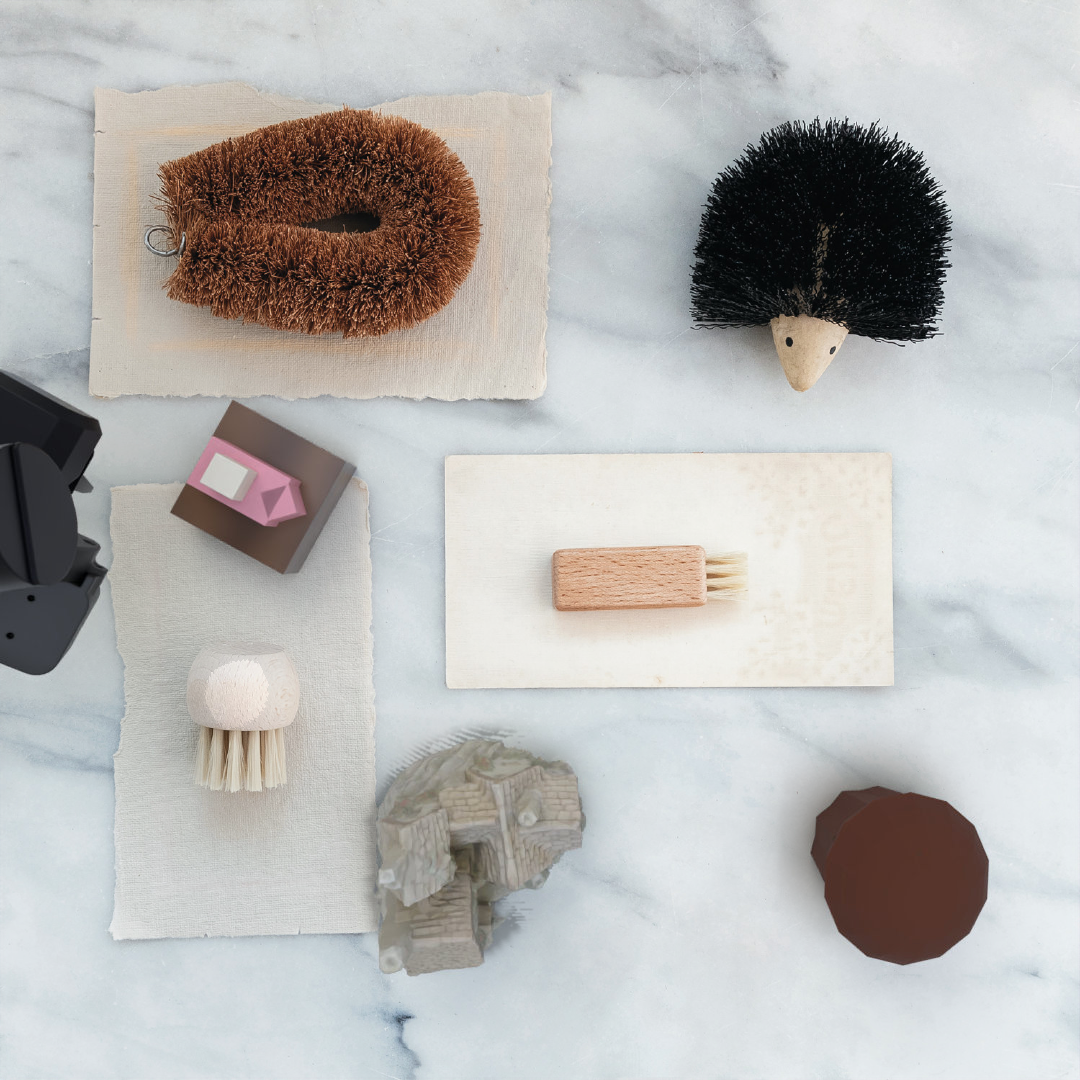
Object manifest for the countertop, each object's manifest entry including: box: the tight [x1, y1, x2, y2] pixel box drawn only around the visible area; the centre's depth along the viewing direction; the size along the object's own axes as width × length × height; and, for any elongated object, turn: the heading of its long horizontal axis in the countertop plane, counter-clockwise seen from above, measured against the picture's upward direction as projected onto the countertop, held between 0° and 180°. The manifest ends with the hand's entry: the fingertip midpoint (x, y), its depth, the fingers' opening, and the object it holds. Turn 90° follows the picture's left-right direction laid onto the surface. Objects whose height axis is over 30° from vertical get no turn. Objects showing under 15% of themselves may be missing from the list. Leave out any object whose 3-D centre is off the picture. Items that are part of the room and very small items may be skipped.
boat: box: [185, 435, 307, 527], centre depth 56 cm, size 7×4×5 cm, turn 61°
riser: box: [169, 399, 358, 575], centre depth 61 cm, size 9×9×5 cm
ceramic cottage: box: [374, 738, 587, 977], centre depth 57 cm, size 16×16×15 cm
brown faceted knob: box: [810, 785, 990, 967], centre depth 59 cm, size 12×11×10 cm
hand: (48, 552), depth 51 cm, fingers open, 9 cm apart
